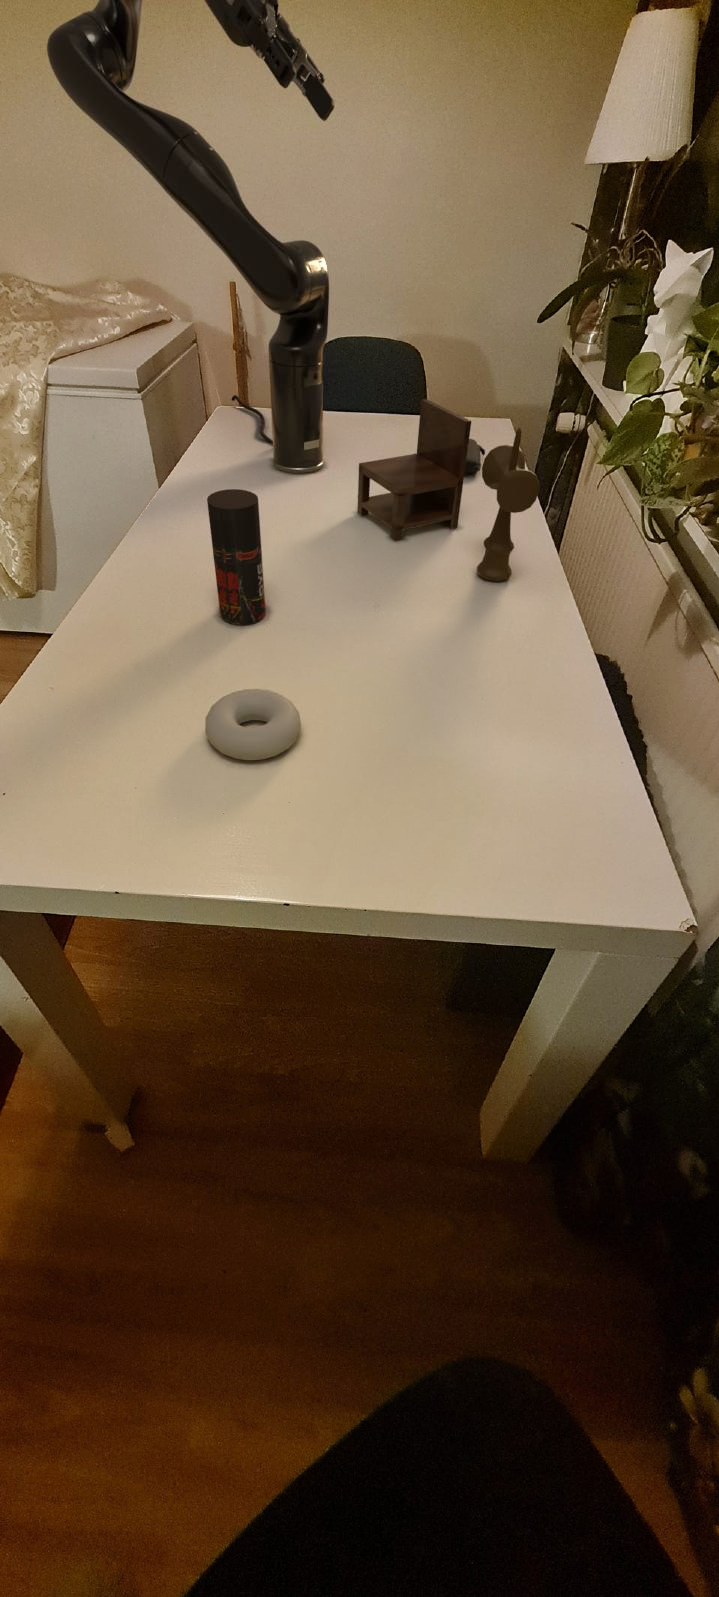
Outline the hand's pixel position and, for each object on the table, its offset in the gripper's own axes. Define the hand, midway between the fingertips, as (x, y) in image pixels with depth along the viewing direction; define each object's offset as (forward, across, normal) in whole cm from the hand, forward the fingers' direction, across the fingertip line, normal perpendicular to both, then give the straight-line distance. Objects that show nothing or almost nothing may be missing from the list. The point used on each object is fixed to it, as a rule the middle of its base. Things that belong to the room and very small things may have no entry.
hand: (310, 96), depth 82 cm
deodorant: (+42, +15, -38) cm, 59 cm away
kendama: (+55, -13, -17) cm, 59 cm away
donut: (+59, +34, -33) cm, 75 cm away
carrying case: (+29, -50, -23) cm, 62 cm away
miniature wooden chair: (+38, -22, -27) cm, 51 cm away
